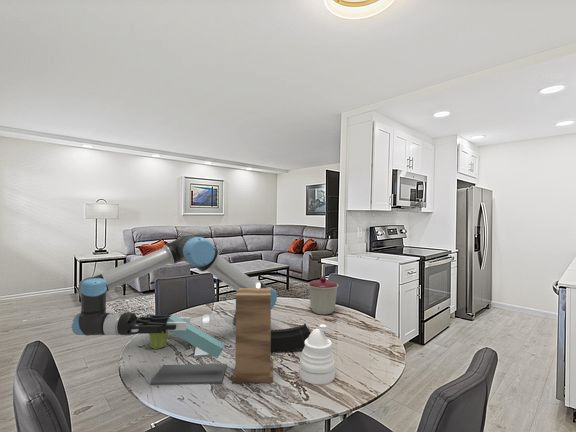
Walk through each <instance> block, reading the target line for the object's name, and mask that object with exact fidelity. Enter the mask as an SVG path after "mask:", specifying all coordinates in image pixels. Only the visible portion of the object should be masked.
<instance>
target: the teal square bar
mask: <svg viewBox="0 0 576 432" xmlns="http://www.w3.org/2000/svg"><path fill="white" fill-rule="evenodd" d="M171 315H172V316H171V317H170V318H169V319H168V320H167V322H185V321H183V320H182V319H180V318H178V316H176V315H174V314H171ZM167 322H166V325H167ZM167 331H168V333H171V334H173V335H174V336H176V337H178V338H180V339H182V340H183V341H185V342H186V343H189V344H191V345H192V346H194V347H195V348H196V347H197V348H199V349H201V350H203V351H204V352H206V353H208V354H210V355H212V356H213V357H214V358H215V359H219V357H220V355H221V353H222V352H223V350H224V347H225V346H226V344H225V343H223V342H222V341H220V340H218V339H217V338H215V337H213V336H212V335H210V334H208V333H207V332H204V331H203V330H202V329H199V327H195V326H194V325H192V324H191V323H190V324H189V323H187V322H186V330H167Z"/></svg>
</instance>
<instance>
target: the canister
mask: <svg viewBox="0 0 576 432" xmlns="http://www.w3.org/2000/svg"><path fill="white" fill-rule="evenodd" d="M307 286H308V290H309V291H308V292H309V300H310V308H311V310H312V312H313V313H314V314H318V315H324V316H325V315H326V316H327V315H330V314H332V313H334V311H335V307H336V301H337V294H338V287H339V286H340V285H339V284H338V283H337V282H336V281H333V280H329V279H327V277H326V276H325V275H324V276H323V275H322V276H321V277H320V278H319V279H314V280H311V281H310V282H308V283H307Z"/></svg>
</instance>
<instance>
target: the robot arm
mask: <svg viewBox="0 0 576 432" xmlns="http://www.w3.org/2000/svg"><path fill="white" fill-rule="evenodd" d="M181 262H185V263H188V264H189V265H191V266H193V267H194V268H196V269H197V270H199V271H200V272H202V273H203V272H208V273H209V274H211V275H213V276H214V277H216V279H218V280H220V281H221V282H223V283H224V284H226V285H227V286H228V287H230V288H231V289H233V290H234V291H236V293H237V292H238V290H239V288H271V310H272V309H273V308H274V306H275V305H276V303H277V300H278V297H277V296H278V294H277V291H276V290H275V288H273V287H270V286H267V285H266V284H264V283H263V282H262V281H261V280H259V279H258V278H255V277H253V278H251V277H250V276H248V275H247V274H246V273H244V272H243V271H242V270H240V269H239V268H237V267H236V266H235V265H234V264H232V263H231V262H229V261H228V260H227V259H225V258H224V257H223V256H221V255H220V252H219V249H217V248H216V247H215V246H214V245H213V243H212V242H211V241H210V240H208V239H207V238H205V237H202V236H194V235H184V236H182V237H179V238H177V239H174V240H172V241H169V242H168V243H166V244H163V247H162V248H160V249H157V250H154V251H153V252H150V253H148V254H145V255H143V256H141V257H139V258H135V259H133V260H131V261H128V262H126V263H124V264H120V265H118V266H115V267H114V268H112V269H109V270H107V271H104V272H102V273H100V274H98V275H95V276H88V277H85V278H83V279H81V281H80V282H79V283H78V288H77V293H78V294H79V297H80V308H81V309H80V313H77V314H76V315H74V318H73V319H72V324H71V331H72V332H73V334H75V335H77V336H86V337H90V336H131V335H142V334H144V335H145V334H151V333H162V331H163V333H166V330H186V322H187V323H189V324H191V317H187V316H186V317H181V316H179V317H178V316H177V317H178V318H180V319H182V320H183V321H185V322H167V320H168V319H169V318H170V317H171V316H172V315H173V314H171V315H170V314H169V315H168V314H146V316H139V317H137V314H136V313H135V312H124V313H123V312H115V311H112V312H107V307H106V306H107V293H108V292H109V291H111V290H113V289H116V288H118V287H120V286H122V285H125V284H127V283H129V282H132V281H134V280H136V279H139V278H140V277H143V276H145V275H147V274H149V273H152V272H154V271H157V270H159V269H160V268H163V267H166V266H167V265H176V264H177V263H181ZM166 322H167V325H166ZM232 324H233V325H234V326H236V311H235V312H234V316H233V318H232Z"/></svg>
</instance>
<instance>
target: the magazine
mask: <svg viewBox="0 0 576 432" xmlns="http://www.w3.org/2000/svg"><path fill="white" fill-rule="evenodd" d="M311 332H312V330H311V327H310V326H307V323H304V324H302V325H298V326H294V327H290V328H289V327H287V328H281V329H280V328H279V329H271V354H279V353H281V354H282V353H289V352H290V353H291V352H296V351H299V350H300V351H301V350H303V349H304V347H305V344H304V342H305V340H306V339H307V338H308V337H309V335H310V334H311Z"/></svg>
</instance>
